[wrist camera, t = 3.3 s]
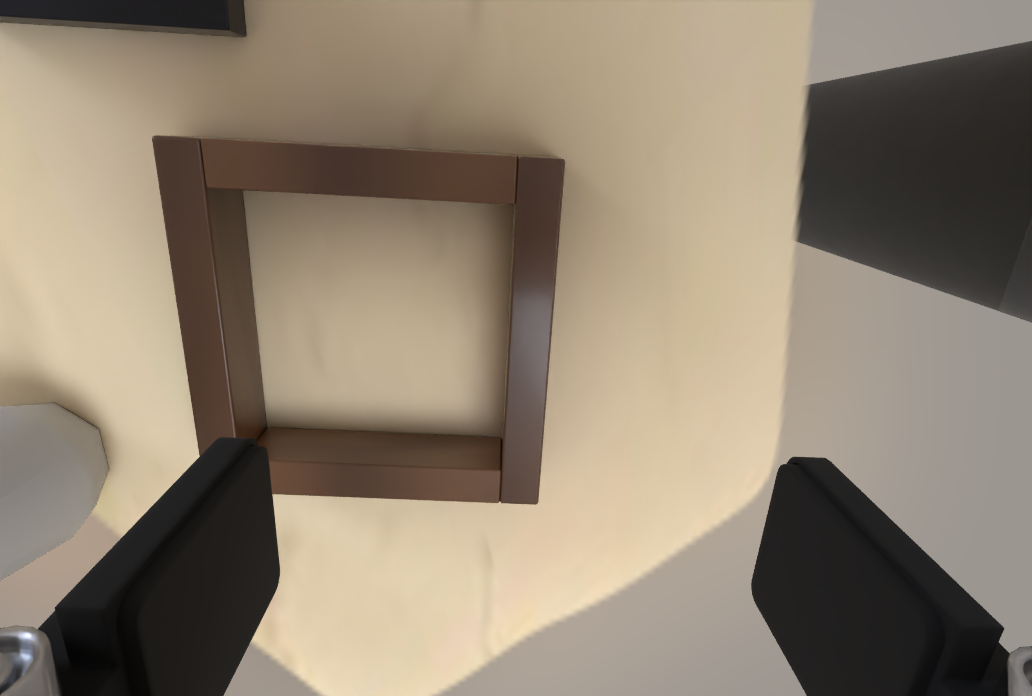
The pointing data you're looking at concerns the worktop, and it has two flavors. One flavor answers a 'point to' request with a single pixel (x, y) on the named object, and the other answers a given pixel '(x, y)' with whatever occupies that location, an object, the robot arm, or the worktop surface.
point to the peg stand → (132, 15)
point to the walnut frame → (232, 326)
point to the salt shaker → (45, 480)
